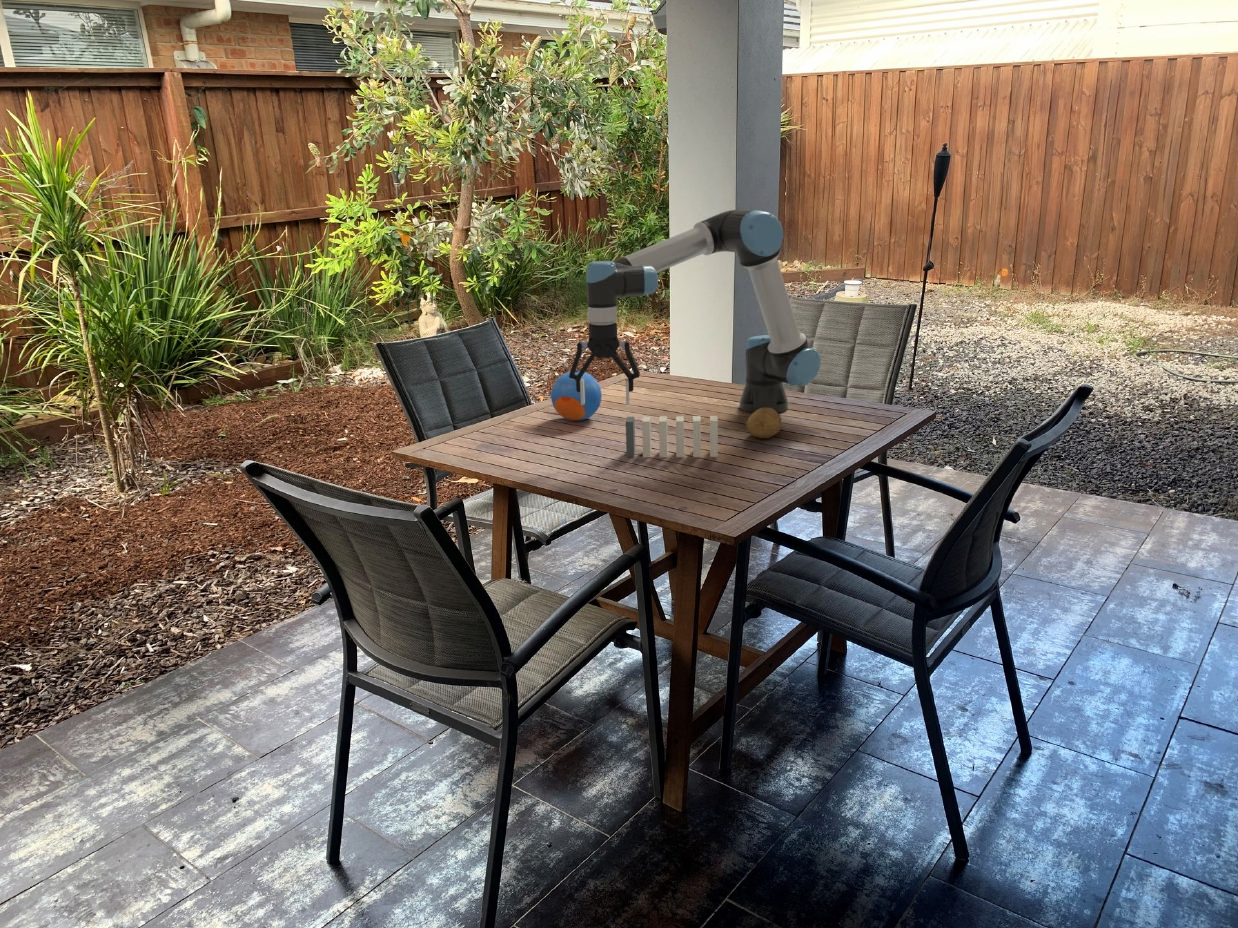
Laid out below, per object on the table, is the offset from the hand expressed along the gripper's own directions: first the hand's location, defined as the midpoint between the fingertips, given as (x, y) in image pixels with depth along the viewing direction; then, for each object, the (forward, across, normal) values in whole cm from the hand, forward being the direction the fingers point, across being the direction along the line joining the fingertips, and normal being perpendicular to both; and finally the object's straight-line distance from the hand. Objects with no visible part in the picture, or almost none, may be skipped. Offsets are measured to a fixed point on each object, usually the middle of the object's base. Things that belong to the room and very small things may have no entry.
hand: (605, 403), depth 243 cm
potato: (+14, -43, -16) cm, 48 cm away
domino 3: (+14, -15, 0) cm, 21 cm away
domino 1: (+14, -6, 0) cm, 16 cm away
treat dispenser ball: (+15, +12, -35) cm, 40 cm away
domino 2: (+14, -11, 0) cm, 18 cm away
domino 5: (+14, -24, 0) cm, 28 cm away
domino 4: (+14, -20, 0) cm, 25 cm away
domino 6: (+14, -29, 0) cm, 32 cm away
